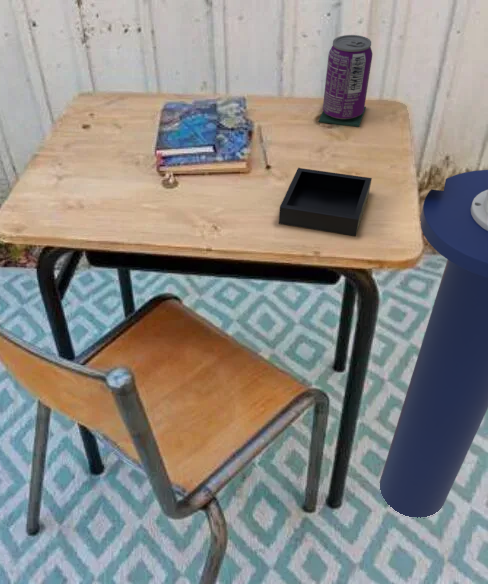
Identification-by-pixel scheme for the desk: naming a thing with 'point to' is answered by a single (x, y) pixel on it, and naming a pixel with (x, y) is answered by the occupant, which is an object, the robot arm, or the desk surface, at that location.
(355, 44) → the beverage can
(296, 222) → the black square tray
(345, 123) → the rubber mat
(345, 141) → the desk surface
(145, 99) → the desk surface
